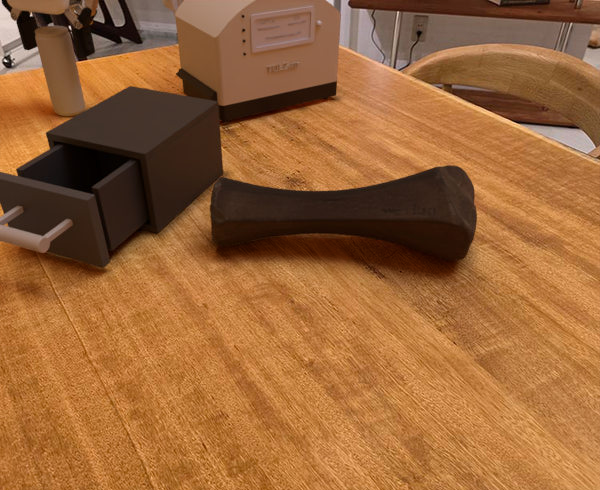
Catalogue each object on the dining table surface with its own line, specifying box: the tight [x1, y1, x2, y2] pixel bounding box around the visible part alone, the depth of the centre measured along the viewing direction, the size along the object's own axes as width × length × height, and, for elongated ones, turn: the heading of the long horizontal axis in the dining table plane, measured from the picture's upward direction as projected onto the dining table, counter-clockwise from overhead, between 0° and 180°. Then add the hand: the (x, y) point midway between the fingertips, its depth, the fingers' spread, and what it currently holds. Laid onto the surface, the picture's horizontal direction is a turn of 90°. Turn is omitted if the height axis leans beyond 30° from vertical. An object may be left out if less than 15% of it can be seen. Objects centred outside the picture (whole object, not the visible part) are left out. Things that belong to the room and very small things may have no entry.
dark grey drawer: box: [0, 142, 150, 269], centre depth 62 cm, size 19×11×8 cm, turn 158°
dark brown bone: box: [209, 164, 478, 262], centre depth 62 cm, size 11×10×28 cm
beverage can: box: [35, 25, 86, 117], centre depth 88 cm, size 5×5×12 cm
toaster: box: [161, 0, 342, 124], centre depth 95 cm, size 23×25×17 cm
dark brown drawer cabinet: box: [45, 85, 224, 234], centre depth 70 cm, size 16×13×10 cm
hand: (59, 51), depth 87 cm, fingers open, 9 cm apart
